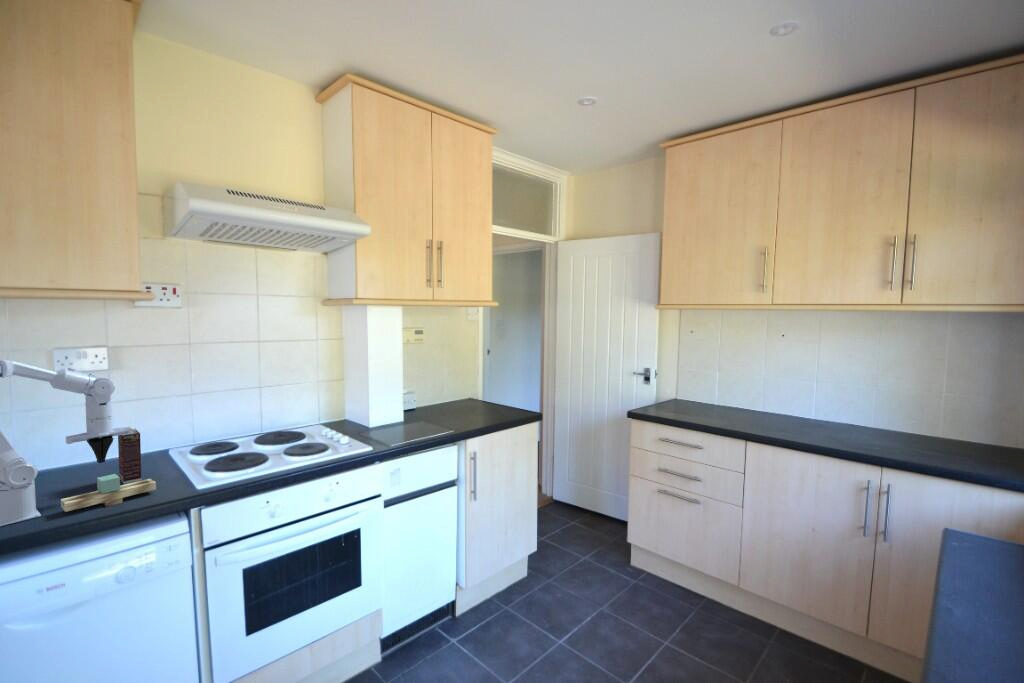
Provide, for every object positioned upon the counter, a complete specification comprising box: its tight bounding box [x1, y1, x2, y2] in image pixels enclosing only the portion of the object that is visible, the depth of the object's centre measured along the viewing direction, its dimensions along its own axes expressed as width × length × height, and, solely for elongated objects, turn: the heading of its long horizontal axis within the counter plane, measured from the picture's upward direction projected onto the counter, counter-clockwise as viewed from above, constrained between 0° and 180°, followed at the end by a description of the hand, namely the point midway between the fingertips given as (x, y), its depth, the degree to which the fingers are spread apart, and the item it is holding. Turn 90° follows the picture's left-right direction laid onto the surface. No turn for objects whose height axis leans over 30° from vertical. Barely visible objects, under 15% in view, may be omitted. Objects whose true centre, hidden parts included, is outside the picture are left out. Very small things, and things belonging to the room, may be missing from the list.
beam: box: [60, 478, 157, 513], centre depth 132 cm, size 20×6×4 cm, turn 144°
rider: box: [96, 473, 121, 494], centre depth 132 cm, size 4×5×5 cm
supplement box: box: [117, 428, 143, 485], centre depth 150 cm, size 9×5×16 cm, turn 48°
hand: (101, 462), depth 137 cm, fingers closed
